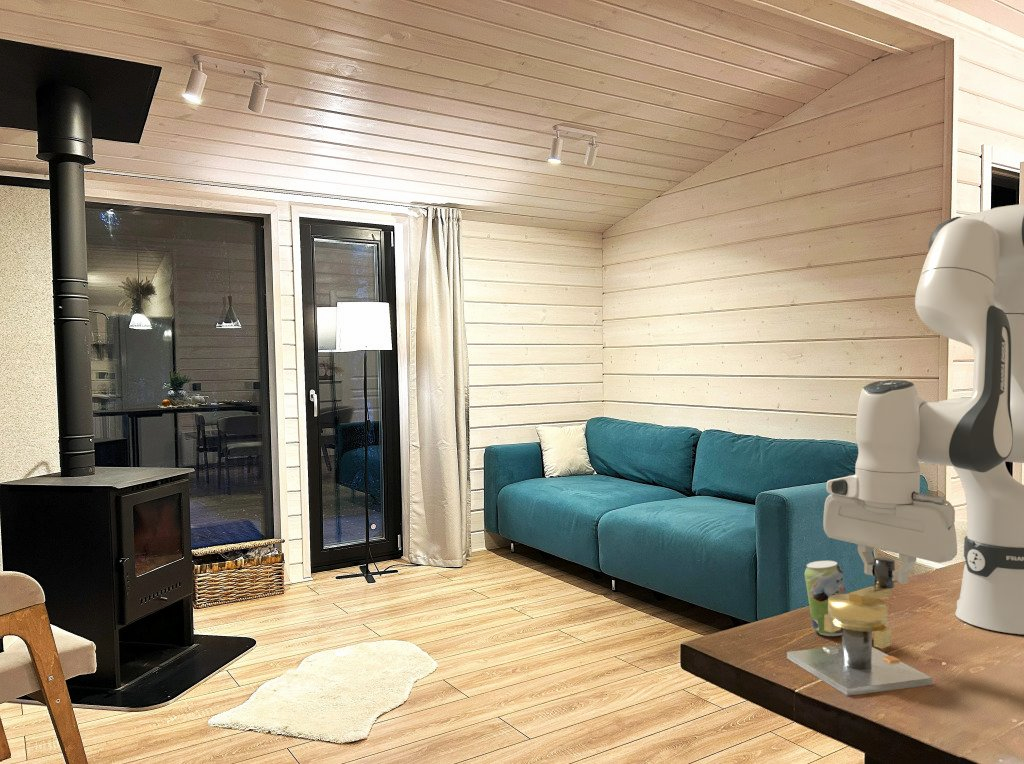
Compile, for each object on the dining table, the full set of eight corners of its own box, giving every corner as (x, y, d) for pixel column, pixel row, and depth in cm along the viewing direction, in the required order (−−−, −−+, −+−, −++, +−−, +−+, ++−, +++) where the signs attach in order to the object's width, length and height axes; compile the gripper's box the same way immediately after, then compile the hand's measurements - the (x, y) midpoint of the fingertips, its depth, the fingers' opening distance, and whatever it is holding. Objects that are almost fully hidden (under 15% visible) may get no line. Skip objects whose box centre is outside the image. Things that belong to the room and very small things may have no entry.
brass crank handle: (918, 634, 118) (919, 565, 118) (870, 652, 111) (871, 578, 111) (861, 618, 126) (861, 552, 125) (812, 633, 119) (813, 564, 118)
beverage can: (854, 641, 130) (855, 568, 129) (807, 638, 131) (807, 566, 131) (846, 628, 136) (847, 558, 135) (801, 625, 137) (801, 556, 137)
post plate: (864, 649, 126) (865, 605, 126) (932, 684, 112) (932, 635, 112) (787, 658, 122) (787, 613, 122) (847, 695, 109) (847, 645, 109)
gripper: (967, 496, 113) (966, 592, 113) (843, 477, 130) (842, 561, 131) (940, 500, 110) (939, 599, 110) (817, 480, 127) (816, 566, 128)
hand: (885, 578), depth 121 cm, fingers open, 3 cm apart
